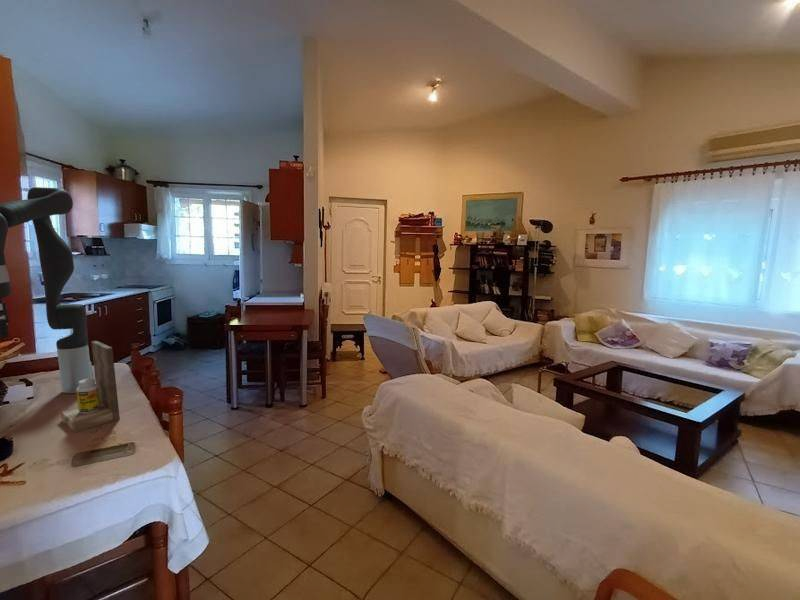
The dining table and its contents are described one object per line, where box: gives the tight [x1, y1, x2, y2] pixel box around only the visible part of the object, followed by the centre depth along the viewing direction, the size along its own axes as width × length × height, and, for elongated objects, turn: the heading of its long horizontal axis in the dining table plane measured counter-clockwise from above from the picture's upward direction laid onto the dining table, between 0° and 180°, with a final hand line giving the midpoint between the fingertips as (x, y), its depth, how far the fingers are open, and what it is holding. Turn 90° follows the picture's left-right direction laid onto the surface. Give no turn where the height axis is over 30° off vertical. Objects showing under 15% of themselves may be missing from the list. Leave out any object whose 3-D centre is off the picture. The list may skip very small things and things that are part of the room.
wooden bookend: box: [60, 340, 121, 433], centre depth 127 cm, size 14×12×24 cm
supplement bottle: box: [75, 378, 100, 414], centre depth 128 cm, size 6×6×10 cm
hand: (0, 335), depth 118 cm, fingers open, 8 cm apart
